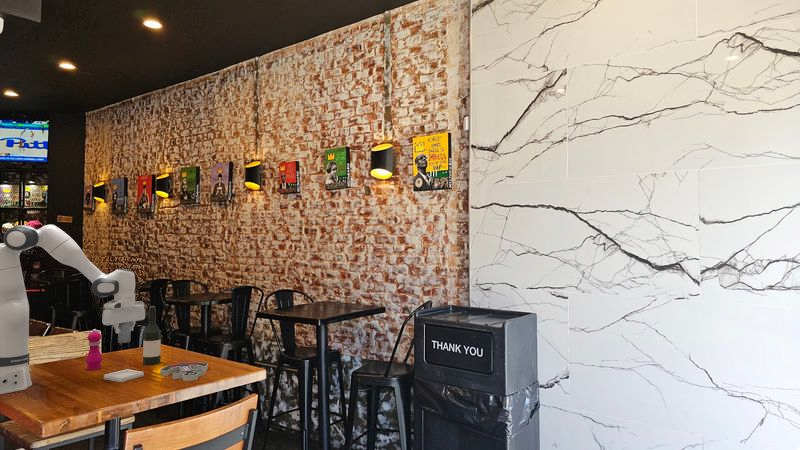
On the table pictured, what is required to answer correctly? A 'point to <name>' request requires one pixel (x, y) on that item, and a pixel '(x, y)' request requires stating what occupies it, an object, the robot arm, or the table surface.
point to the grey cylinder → (124, 332)
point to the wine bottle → (152, 340)
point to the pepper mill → (94, 351)
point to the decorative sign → (185, 370)
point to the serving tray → (123, 375)
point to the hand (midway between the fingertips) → (124, 332)
